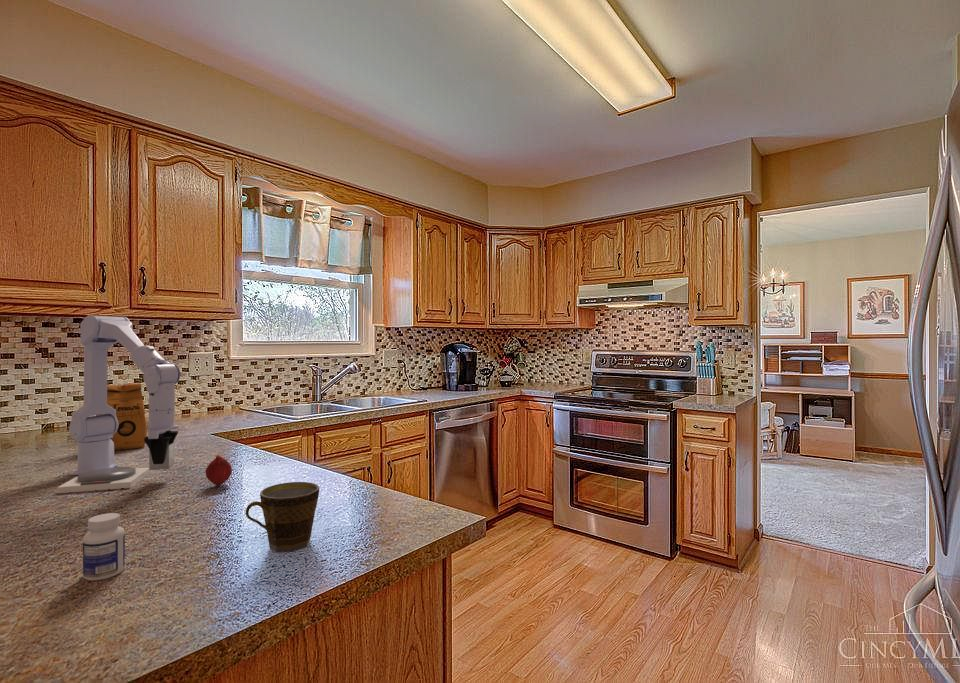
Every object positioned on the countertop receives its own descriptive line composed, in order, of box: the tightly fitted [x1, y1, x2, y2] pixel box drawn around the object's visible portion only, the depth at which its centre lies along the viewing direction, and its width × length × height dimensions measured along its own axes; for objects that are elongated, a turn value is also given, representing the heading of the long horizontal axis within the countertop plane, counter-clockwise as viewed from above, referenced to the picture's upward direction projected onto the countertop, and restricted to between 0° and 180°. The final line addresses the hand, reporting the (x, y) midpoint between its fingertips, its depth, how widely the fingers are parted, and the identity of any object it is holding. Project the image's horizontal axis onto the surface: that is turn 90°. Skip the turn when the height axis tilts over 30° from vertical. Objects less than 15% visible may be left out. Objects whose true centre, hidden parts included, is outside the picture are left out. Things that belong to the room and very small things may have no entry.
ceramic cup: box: [245, 481, 320, 553], centre depth 87 cm, size 13×10×10 cm
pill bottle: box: [82, 512, 126, 582], centre depth 78 cm, size 5×5×9 cm
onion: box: [205, 453, 233, 487], centre depth 125 cm, size 6×6×8 cm
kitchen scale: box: [57, 466, 151, 494], centre depth 127 cm, size 15×15×2 cm
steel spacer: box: [148, 441, 175, 471], centre depth 129 cm, size 4×4×6 cm
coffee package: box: [107, 383, 148, 451], centre depth 168 cm, size 10×12×22 cm
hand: (161, 461), depth 129 cm, fingers closed on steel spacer, 4 cm apart
